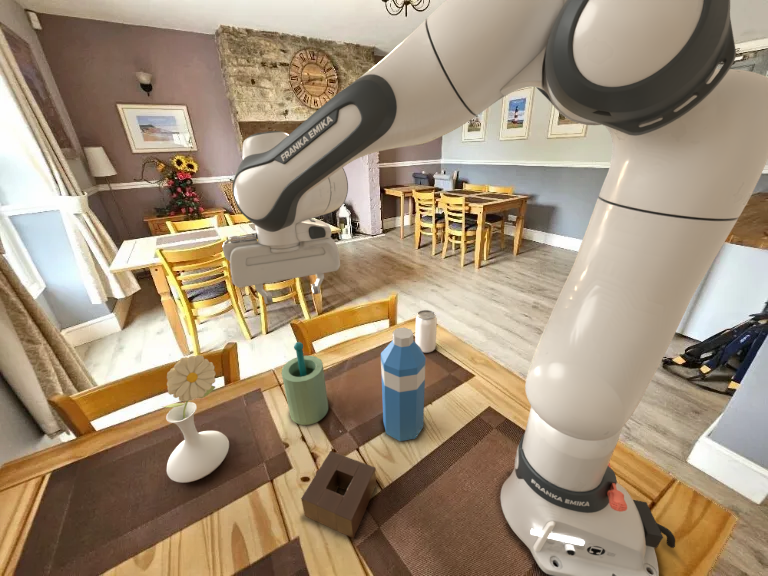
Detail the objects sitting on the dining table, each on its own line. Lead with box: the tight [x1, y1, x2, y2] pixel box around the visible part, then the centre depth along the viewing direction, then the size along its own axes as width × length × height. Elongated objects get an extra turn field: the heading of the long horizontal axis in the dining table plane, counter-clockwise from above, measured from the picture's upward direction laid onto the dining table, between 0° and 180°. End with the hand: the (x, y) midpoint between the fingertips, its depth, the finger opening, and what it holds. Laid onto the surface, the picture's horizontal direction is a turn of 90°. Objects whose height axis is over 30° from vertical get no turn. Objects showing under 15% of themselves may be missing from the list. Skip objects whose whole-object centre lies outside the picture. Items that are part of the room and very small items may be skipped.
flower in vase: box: [160, 354, 230, 483], centre depth 60 cm, size 13×11×25 cm
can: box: [414, 309, 438, 354], centre depth 96 cm, size 6×6×12 cm
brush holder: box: [300, 450, 377, 539], centre depth 56 cm, size 10×10×5 cm
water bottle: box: [380, 327, 427, 442], centre depth 67 cm, size 9×9×25 cm
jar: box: [281, 355, 329, 426], centre depth 74 cm, size 9×9×13 cm
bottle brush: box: [293, 341, 307, 377], centre depth 72 cm, size 3×3×19 cm
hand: (293, 297), depth 63 cm, fingers open, 8 cm apart
